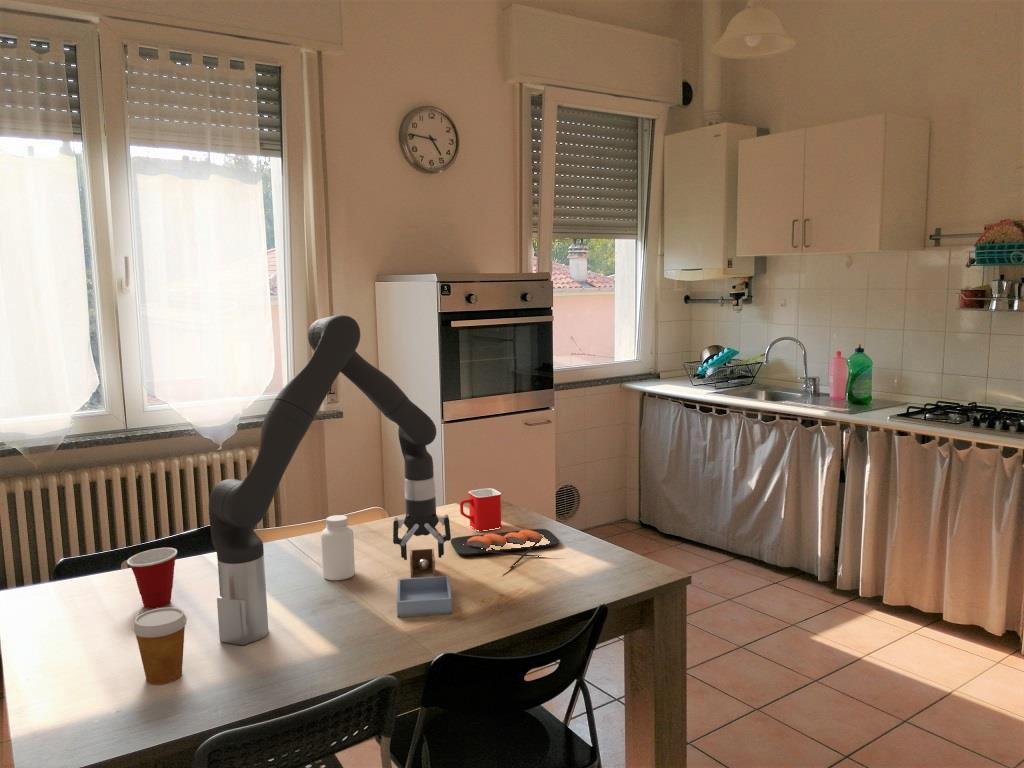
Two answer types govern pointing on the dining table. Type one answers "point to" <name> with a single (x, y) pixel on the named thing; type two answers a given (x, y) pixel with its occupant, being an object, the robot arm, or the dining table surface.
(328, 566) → the pill bottle
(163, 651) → the disposable coffee cup
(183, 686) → the dining table surface
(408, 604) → the dish
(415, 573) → the channel
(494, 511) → the mug
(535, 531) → the sushi plate
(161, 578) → the plastic cup
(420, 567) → the ball
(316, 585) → the dining table surface
